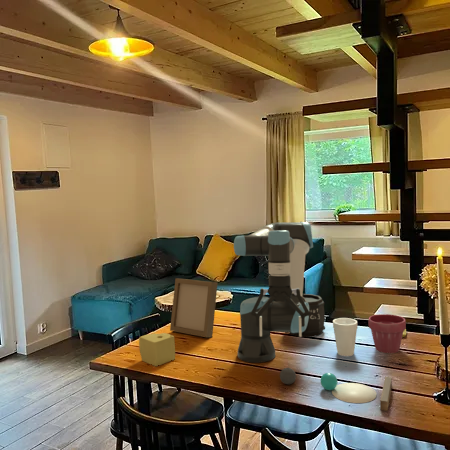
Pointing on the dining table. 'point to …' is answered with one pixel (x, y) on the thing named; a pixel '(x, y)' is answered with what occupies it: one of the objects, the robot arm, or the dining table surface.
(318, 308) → the black lettered pot
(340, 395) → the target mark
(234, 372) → the dining table surface
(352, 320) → the foam cup
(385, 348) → the plant pot
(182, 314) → the photo frame
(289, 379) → the gray ball
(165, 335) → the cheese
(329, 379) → the object ball
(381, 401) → the rail
